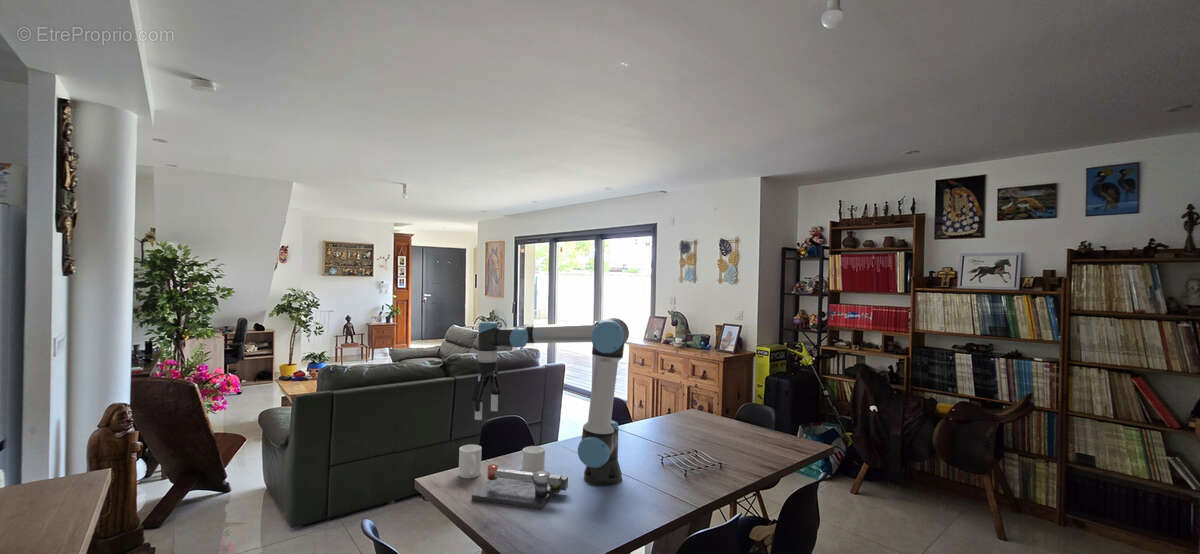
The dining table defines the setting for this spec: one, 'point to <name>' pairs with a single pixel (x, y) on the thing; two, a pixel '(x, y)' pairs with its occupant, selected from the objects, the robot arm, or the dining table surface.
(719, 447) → the dining table surface
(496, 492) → the press base
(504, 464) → the dining table surface
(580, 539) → the dining table surface
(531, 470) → the mug
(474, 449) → the mug
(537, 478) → the lever
